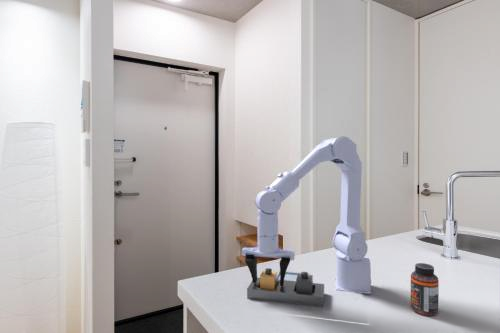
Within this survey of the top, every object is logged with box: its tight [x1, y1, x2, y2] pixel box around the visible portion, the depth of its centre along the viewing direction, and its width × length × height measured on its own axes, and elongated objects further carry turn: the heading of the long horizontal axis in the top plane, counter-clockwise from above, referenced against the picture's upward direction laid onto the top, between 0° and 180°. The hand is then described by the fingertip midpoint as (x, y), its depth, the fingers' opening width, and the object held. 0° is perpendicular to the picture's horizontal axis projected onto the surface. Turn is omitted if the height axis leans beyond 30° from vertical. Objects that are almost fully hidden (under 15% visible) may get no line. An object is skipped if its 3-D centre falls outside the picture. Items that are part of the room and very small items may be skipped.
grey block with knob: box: [296, 271, 314, 294], centre depth 80 cm, size 4×4×7 cm
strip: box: [246, 277, 325, 308], centre depth 82 cm, size 20×8×3 cm, turn 75°
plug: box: [259, 267, 277, 290], centre depth 83 cm, size 4×4×7 cm
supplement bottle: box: [410, 262, 440, 317], centre depth 74 cm, size 6×6×11 cm
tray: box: [276, 269, 311, 281], centre depth 92 cm, size 11×11×1 cm
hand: (268, 283), depth 83 cm, fingers open, 7 cm apart
